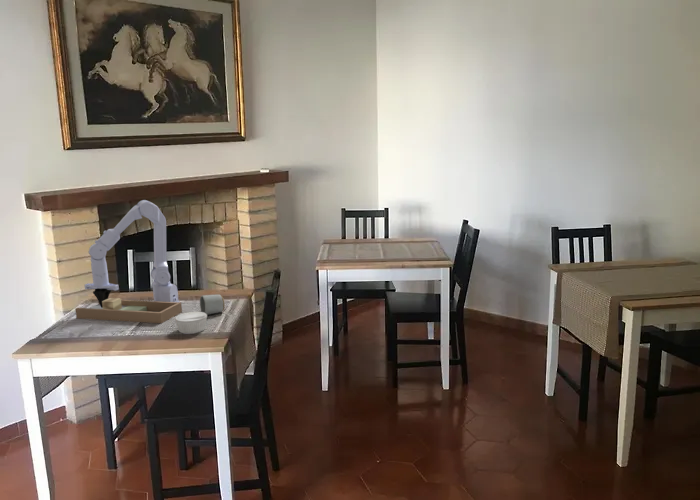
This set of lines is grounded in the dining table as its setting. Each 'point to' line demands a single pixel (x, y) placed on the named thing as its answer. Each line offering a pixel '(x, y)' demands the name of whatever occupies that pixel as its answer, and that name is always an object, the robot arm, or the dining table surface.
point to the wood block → (112, 304)
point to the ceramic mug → (212, 304)
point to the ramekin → (191, 322)
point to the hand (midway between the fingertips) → (103, 306)
